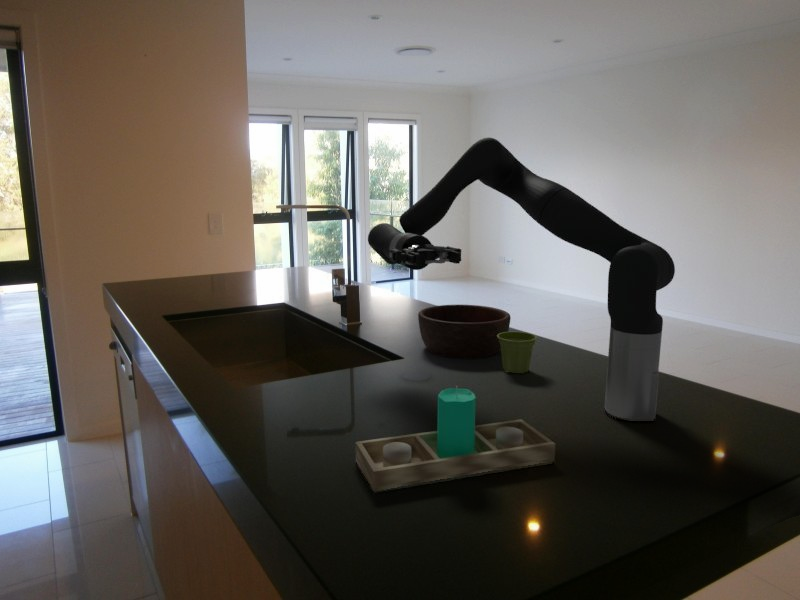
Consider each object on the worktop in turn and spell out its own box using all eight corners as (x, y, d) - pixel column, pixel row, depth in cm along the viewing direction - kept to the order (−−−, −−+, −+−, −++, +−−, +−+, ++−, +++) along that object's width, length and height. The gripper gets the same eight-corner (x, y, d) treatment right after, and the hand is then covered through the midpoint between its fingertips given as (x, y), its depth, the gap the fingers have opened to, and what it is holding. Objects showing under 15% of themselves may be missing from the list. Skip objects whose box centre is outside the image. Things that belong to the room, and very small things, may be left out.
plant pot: (506, 378, 138) (507, 342, 136) (489, 366, 147) (490, 332, 145) (542, 374, 140) (544, 339, 139) (523, 363, 149) (525, 330, 148)
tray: (520, 437, 105) (521, 416, 104) (554, 463, 95) (555, 440, 94) (355, 462, 95) (355, 438, 94) (373, 493, 85) (373, 468, 85)
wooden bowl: (408, 358, 153) (409, 320, 151) (427, 335, 177) (427, 302, 175) (506, 365, 148) (507, 325, 146) (511, 341, 171) (513, 306, 169)
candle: (451, 445, 99) (452, 377, 97) (481, 455, 95) (483, 385, 93) (429, 457, 95) (430, 385, 93) (459, 468, 91) (461, 394, 89)
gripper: (379, 234, 127) (403, 240, 112) (440, 232, 131) (472, 238, 116) (379, 268, 128) (403, 279, 113) (440, 266, 133) (471, 276, 118)
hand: (438, 259), depth 115 cm, fingers open, 8 cm apart
